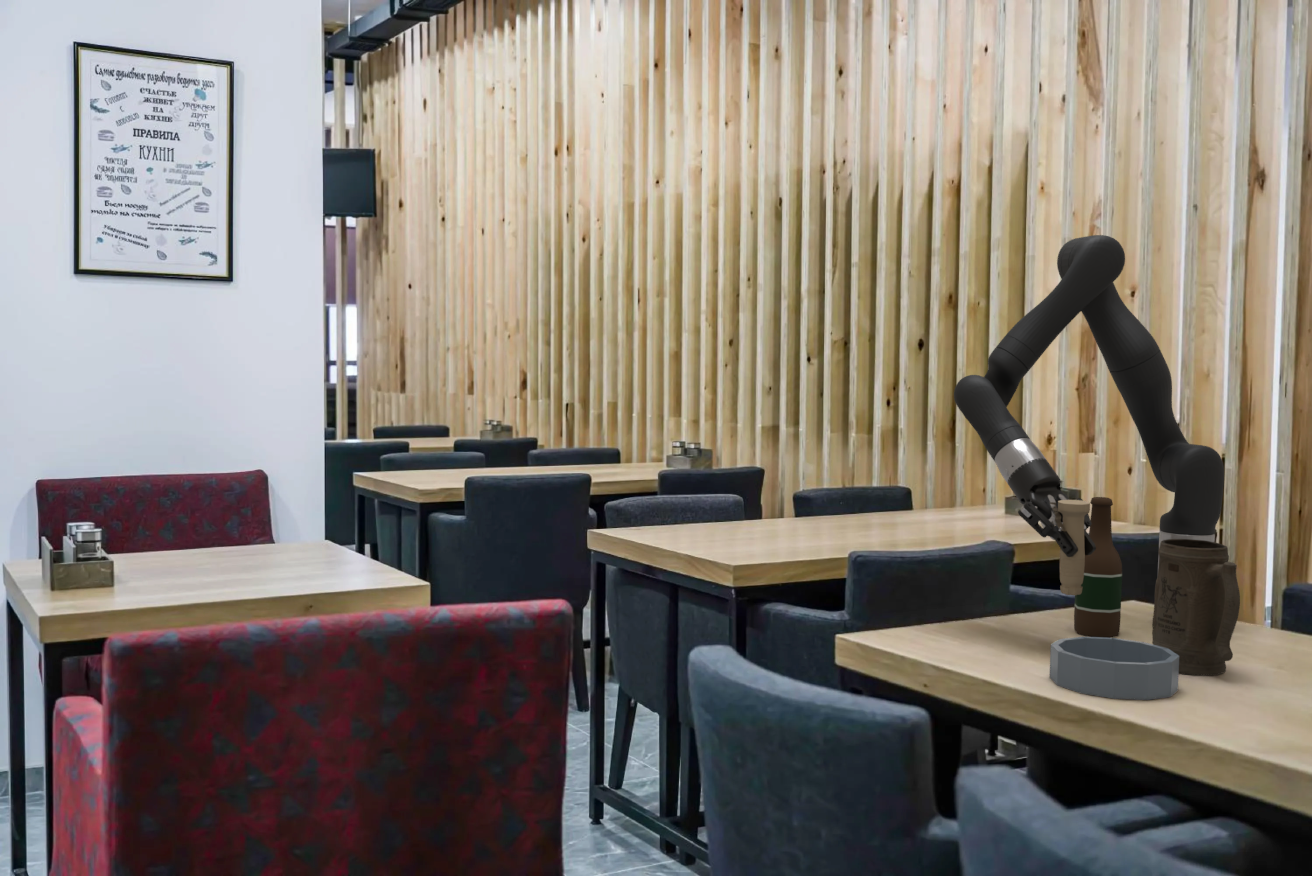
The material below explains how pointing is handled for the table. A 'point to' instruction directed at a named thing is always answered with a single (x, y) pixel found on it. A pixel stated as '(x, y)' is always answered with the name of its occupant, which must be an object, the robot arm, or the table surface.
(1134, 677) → the bowl
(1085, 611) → the beer bottle
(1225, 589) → the beer stein
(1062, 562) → the handle
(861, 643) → the table surface
